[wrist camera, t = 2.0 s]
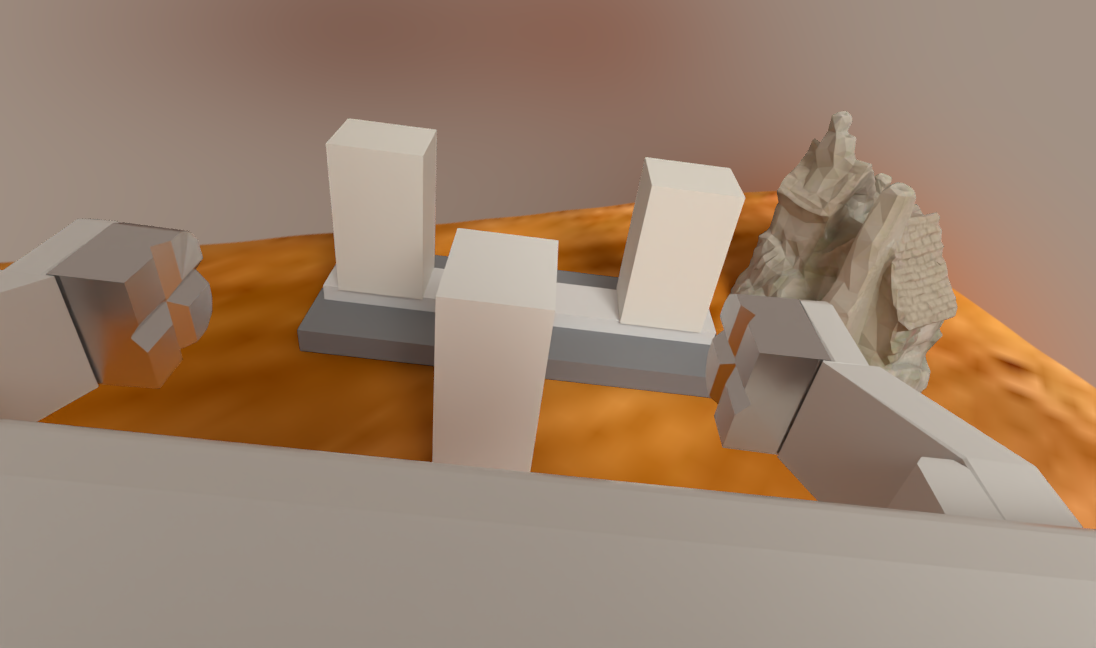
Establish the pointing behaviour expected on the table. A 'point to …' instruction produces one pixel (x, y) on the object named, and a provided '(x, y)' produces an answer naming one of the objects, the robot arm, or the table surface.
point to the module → (492, 348)
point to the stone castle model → (857, 255)
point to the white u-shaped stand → (581, 299)
